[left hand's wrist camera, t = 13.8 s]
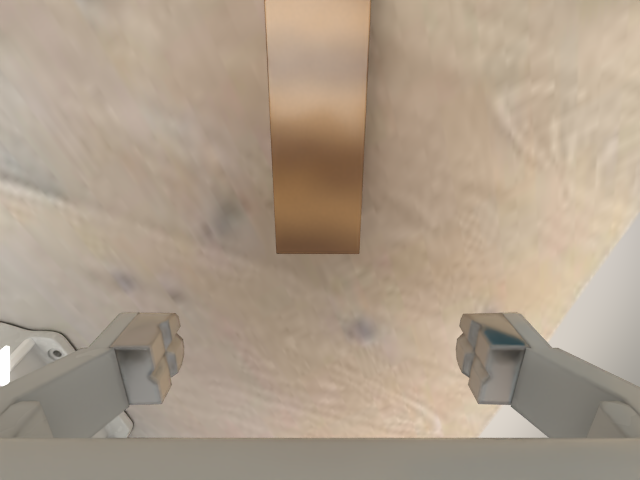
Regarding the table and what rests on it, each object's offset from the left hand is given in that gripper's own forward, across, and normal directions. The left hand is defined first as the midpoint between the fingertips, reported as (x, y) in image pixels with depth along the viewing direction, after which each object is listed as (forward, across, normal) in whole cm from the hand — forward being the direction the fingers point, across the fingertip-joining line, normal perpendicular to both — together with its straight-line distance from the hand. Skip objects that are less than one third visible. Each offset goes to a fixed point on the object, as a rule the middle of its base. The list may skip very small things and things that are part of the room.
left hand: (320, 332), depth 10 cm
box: (+23, 0, -7) cm, 24 cm away
